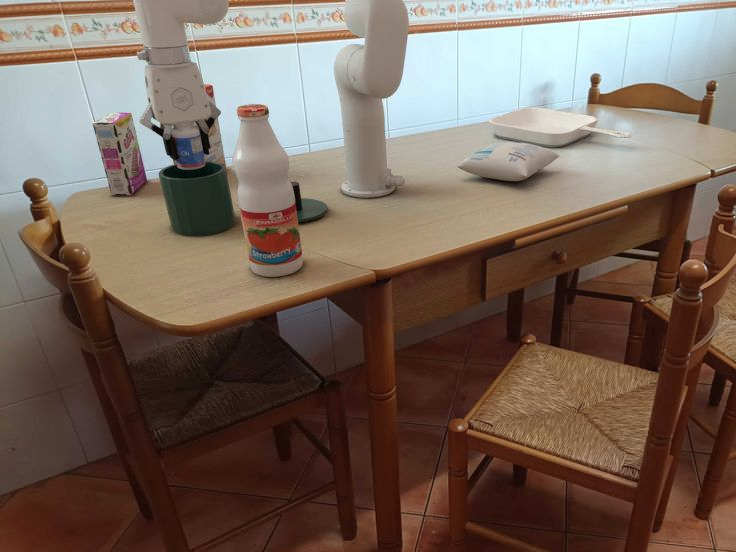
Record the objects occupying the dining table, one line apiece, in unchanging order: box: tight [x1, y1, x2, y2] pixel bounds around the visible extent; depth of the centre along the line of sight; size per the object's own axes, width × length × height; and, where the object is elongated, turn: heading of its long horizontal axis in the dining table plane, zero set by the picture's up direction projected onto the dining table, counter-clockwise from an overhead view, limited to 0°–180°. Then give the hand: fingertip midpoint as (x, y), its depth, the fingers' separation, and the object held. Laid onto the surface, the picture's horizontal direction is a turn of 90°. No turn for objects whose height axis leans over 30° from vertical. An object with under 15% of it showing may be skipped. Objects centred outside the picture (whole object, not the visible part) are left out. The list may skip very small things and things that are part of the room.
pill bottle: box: [171, 121, 206, 170], centre depth 129 cm, size 6×5×10 cm
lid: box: [290, 181, 328, 223], centre depth 142 cm, size 14×14×7 cm
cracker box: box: [171, 83, 227, 170], centre depth 159 cm, size 14×6×21 cm, turn 168°
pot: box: [158, 161, 236, 237], centre depth 135 cm, size 12×12×12 cm
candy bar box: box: [92, 112, 148, 197], centre depth 152 cm, size 11×5×16 cm, turn 5°
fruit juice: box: [231, 103, 304, 278], centre depth 113 cm, size 9×9×28 cm
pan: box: [488, 106, 633, 148], centre depth 197 cm, size 27×42×5 cm, turn 54°
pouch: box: [455, 141, 561, 182], centre depth 165 cm, size 8×19×20 cm
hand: (189, 154), depth 130 cm, fingers closed on pill bottle, 5 cm apart
